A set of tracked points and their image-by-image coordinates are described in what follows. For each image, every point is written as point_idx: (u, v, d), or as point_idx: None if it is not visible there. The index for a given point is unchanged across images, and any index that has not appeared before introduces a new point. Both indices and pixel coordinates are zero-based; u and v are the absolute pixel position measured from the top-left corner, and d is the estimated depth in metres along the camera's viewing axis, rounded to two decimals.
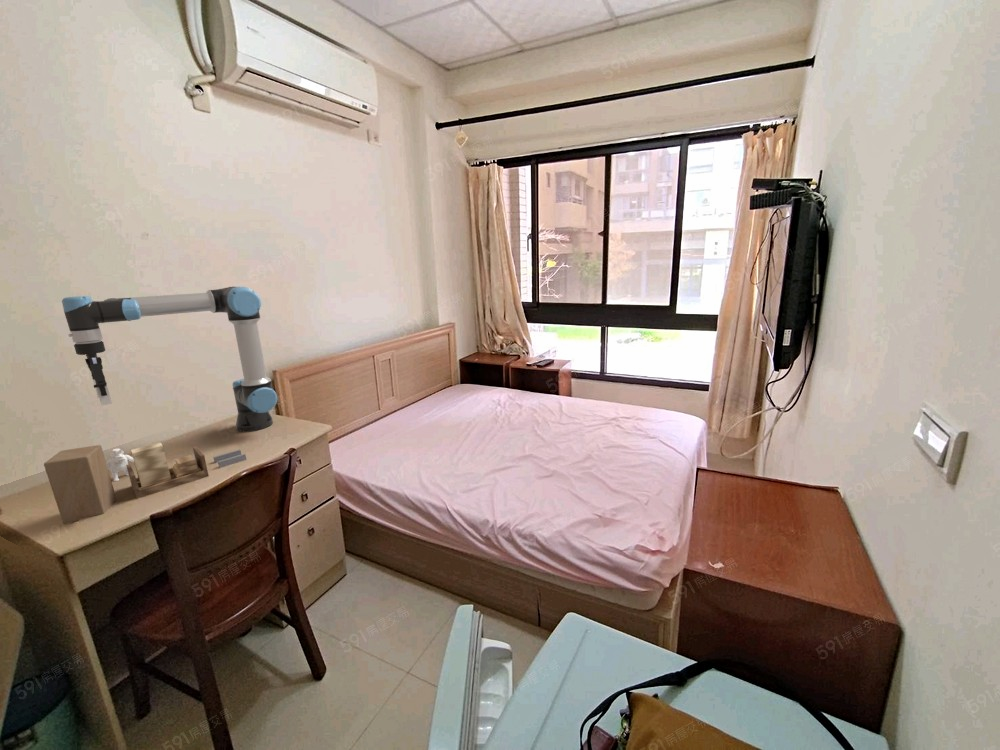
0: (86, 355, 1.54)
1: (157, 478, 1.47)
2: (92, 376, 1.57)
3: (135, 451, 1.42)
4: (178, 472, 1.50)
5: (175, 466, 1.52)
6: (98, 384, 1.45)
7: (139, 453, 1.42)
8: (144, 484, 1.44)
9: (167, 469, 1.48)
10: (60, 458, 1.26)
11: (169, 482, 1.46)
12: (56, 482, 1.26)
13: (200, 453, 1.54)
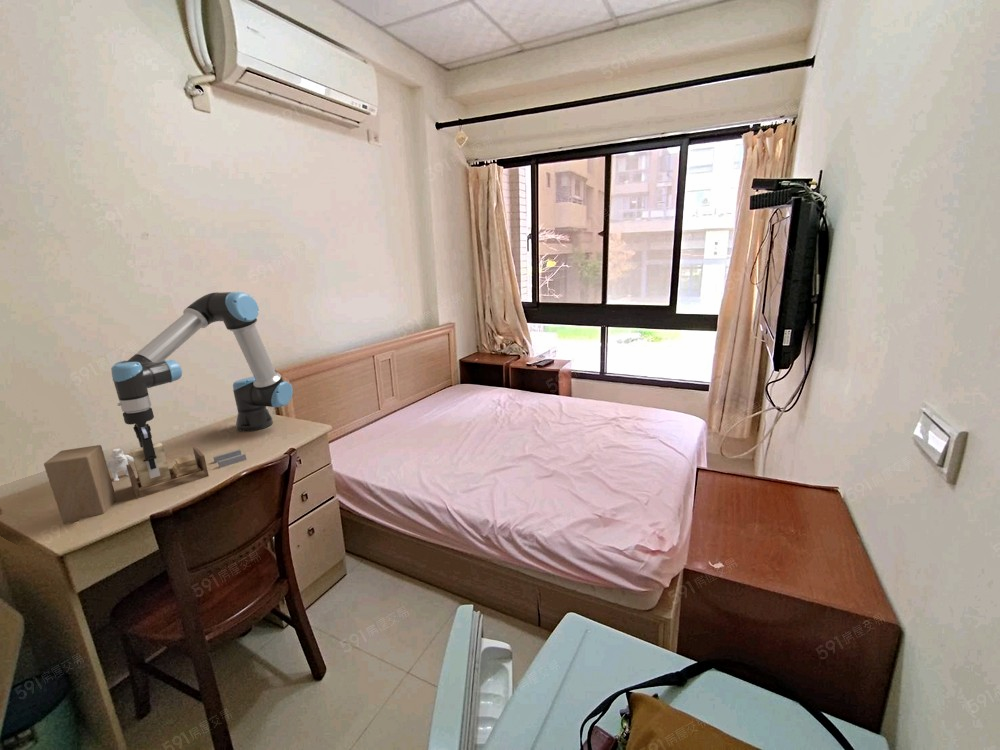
0: (134, 425, 1.46)
1: (157, 478, 1.47)
2: None
3: (135, 451, 1.42)
4: (178, 472, 1.50)
5: (175, 466, 1.52)
6: (148, 458, 1.41)
7: (139, 453, 1.42)
8: (144, 484, 1.44)
9: (167, 469, 1.48)
10: (60, 458, 1.26)
11: (169, 482, 1.46)
12: (56, 482, 1.26)
13: (200, 453, 1.54)
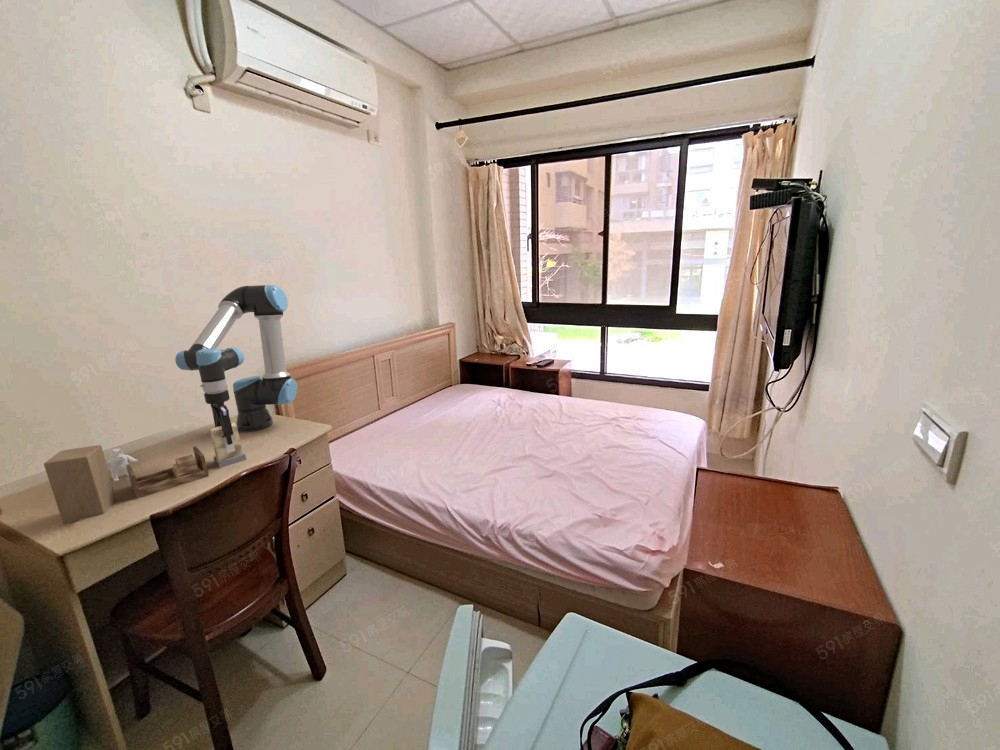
0: (211, 405, 1.63)
1: (232, 454, 1.64)
2: None
3: (214, 430, 1.59)
4: (178, 472, 1.50)
5: (175, 466, 1.52)
6: (227, 434, 1.57)
7: (218, 431, 1.59)
8: (221, 459, 1.62)
9: (240, 446, 1.66)
10: (60, 458, 1.26)
11: (169, 482, 1.46)
12: (56, 482, 1.26)
13: (200, 453, 1.54)
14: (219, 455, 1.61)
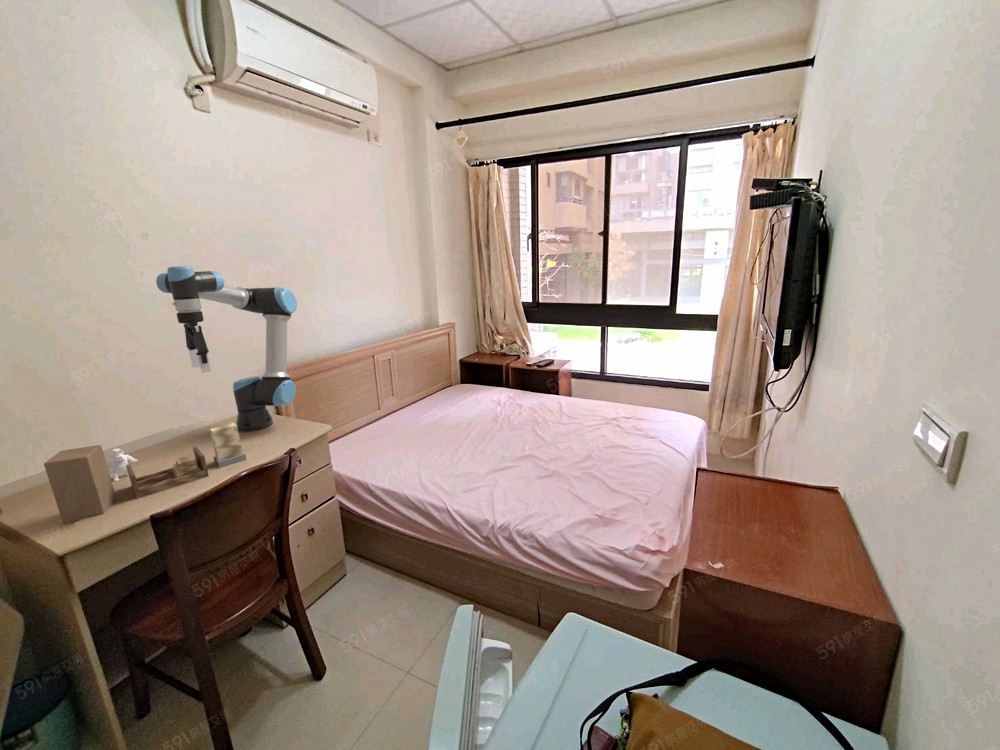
0: (184, 325, 1.58)
1: (232, 454, 1.64)
2: (188, 346, 1.61)
3: (214, 430, 1.59)
4: (178, 472, 1.50)
5: (175, 466, 1.52)
6: (201, 351, 1.49)
7: (218, 431, 1.59)
8: (221, 459, 1.62)
9: (240, 446, 1.66)
10: (60, 458, 1.26)
11: (169, 482, 1.46)
12: (56, 482, 1.26)
13: (200, 453, 1.54)
14: (219, 455, 1.61)
